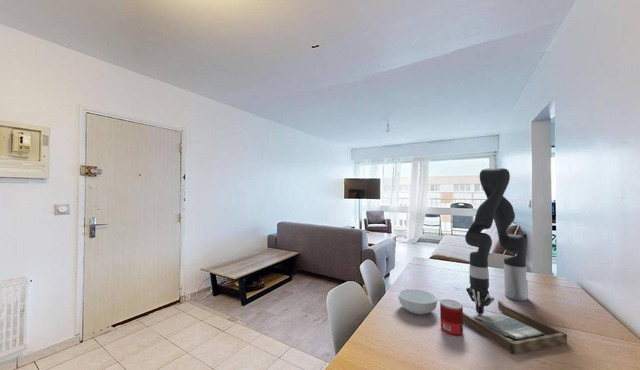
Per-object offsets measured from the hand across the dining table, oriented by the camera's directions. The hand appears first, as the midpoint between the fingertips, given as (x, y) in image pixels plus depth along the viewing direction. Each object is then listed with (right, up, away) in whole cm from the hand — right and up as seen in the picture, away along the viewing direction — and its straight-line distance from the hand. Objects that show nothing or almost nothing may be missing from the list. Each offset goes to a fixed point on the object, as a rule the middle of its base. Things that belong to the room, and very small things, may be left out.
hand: (479, 313), depth 111 cm
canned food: (-20, 0, -13) cm, 24 cm away
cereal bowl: (-27, -1, +4) cm, 28 cm away
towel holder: (+2, 0, -11) cm, 11 cm away
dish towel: (+2, -1, -12) cm, 12 cm away
